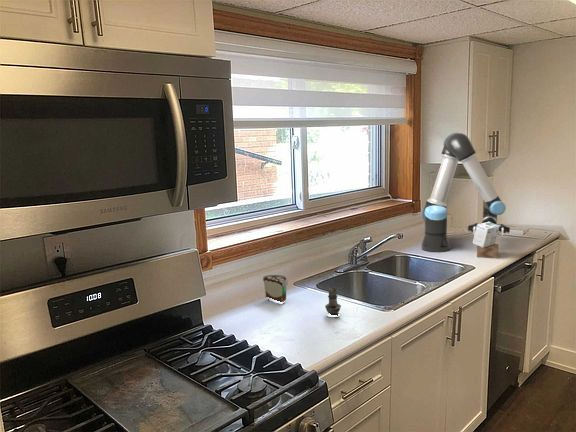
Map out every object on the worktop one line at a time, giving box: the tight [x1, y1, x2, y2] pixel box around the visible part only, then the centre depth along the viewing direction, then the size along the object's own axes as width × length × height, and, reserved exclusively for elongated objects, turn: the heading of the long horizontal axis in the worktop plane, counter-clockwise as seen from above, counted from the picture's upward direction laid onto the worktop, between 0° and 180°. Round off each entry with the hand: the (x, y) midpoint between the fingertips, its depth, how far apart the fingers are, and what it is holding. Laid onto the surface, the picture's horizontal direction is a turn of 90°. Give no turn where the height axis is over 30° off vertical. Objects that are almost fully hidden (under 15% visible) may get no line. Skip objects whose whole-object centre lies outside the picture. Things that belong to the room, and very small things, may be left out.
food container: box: [262, 274, 289, 302], centre depth 191 cm, size 12×6×10 cm, turn 44°
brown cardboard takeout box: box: [476, 243, 499, 259], centre depth 243 cm, size 10×10×5 cm
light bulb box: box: [472, 222, 500, 248], centre depth 241 cm, size 11×7×11 cm, turn 125°
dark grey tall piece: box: [324, 284, 342, 316], centre depth 173 cm, size 6×6×12 cm
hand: (488, 232), depth 238 cm, fingers open, 13 cm apart
